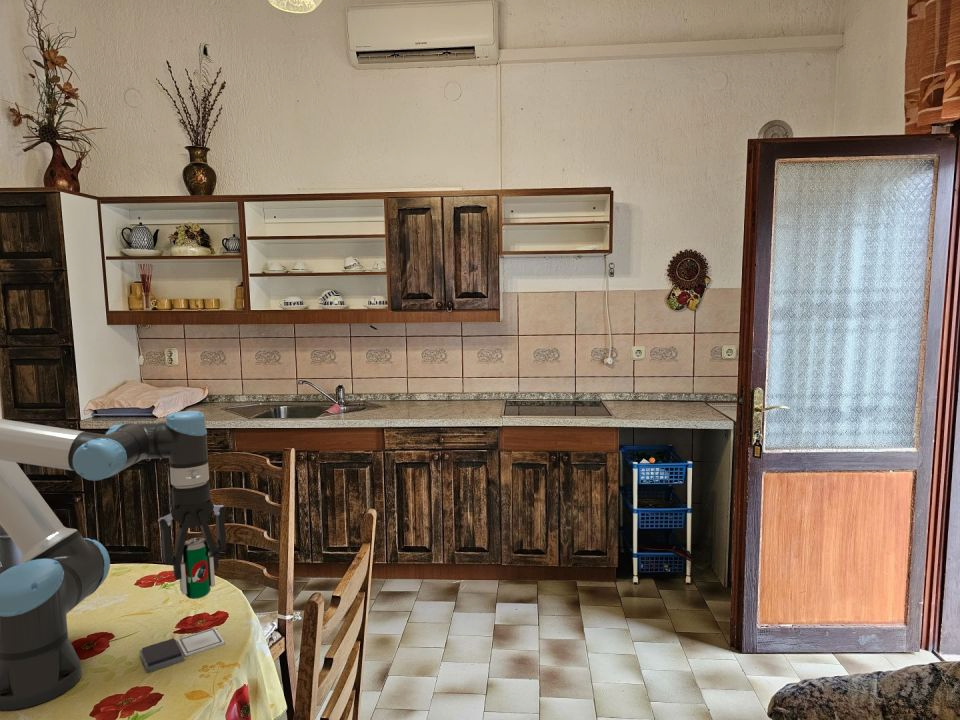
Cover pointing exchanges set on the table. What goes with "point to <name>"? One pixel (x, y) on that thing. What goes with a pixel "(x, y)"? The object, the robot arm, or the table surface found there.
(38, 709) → the table surface
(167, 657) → the ink pad
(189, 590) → the soda can
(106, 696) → the table surface
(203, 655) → the table surface
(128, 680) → the table surface
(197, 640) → the print card
